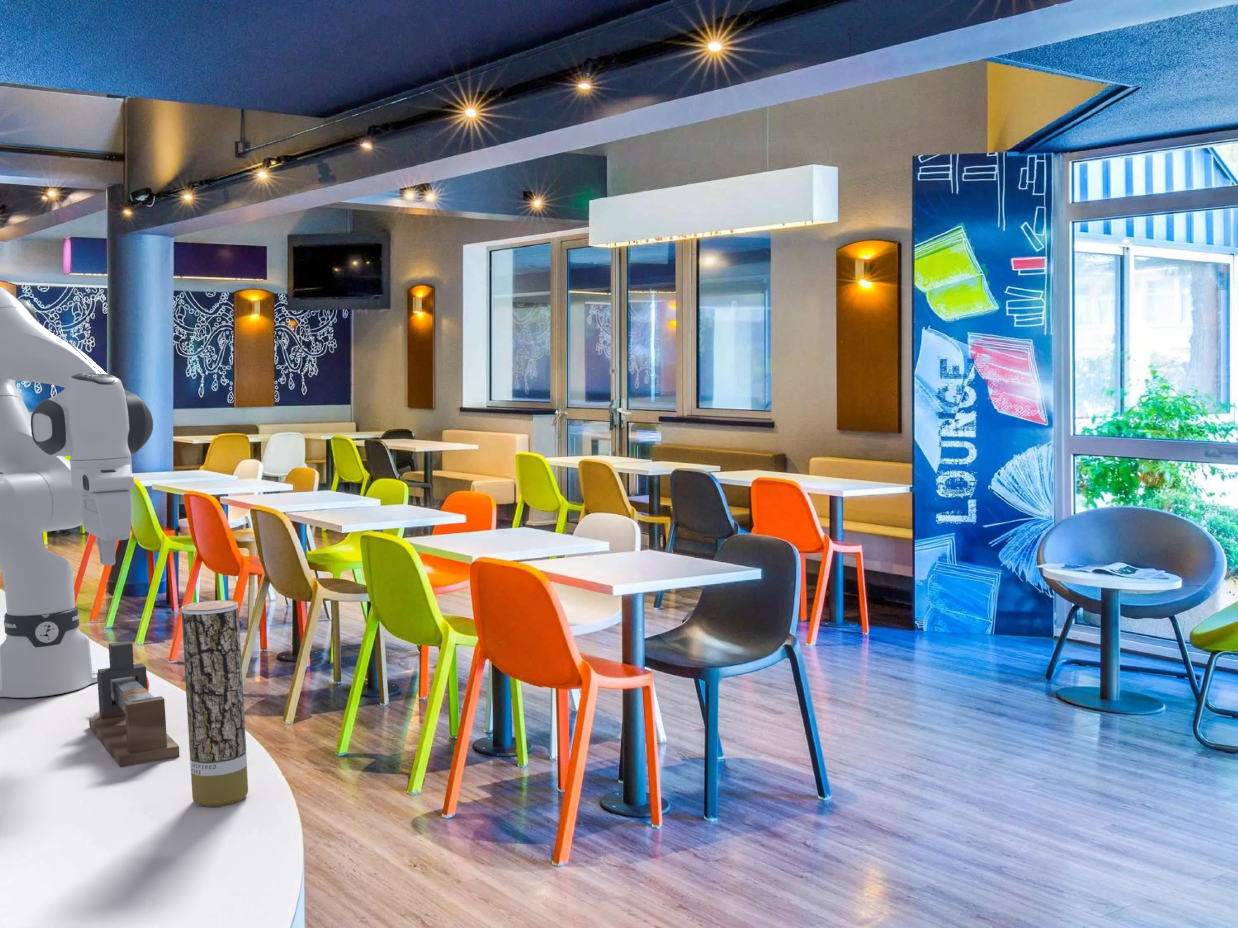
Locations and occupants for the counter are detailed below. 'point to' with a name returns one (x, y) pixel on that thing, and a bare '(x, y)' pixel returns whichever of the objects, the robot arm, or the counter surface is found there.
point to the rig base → (135, 732)
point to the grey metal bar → (128, 691)
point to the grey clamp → (118, 674)
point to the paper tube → (215, 702)
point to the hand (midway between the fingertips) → (107, 564)
